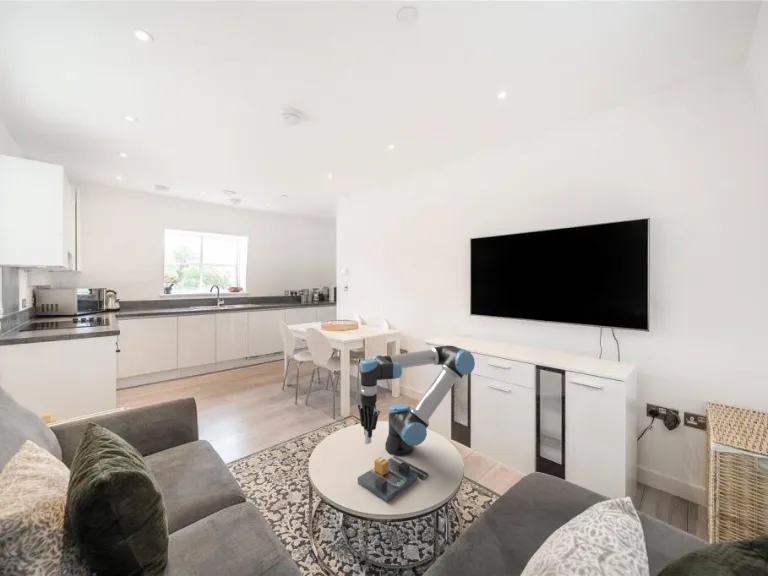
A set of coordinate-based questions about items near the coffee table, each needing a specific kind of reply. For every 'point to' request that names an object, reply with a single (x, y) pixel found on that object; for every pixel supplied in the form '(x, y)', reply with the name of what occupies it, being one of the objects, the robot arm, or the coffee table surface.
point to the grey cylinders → (413, 469)
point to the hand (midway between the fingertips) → (368, 442)
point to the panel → (388, 481)
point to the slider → (381, 466)
